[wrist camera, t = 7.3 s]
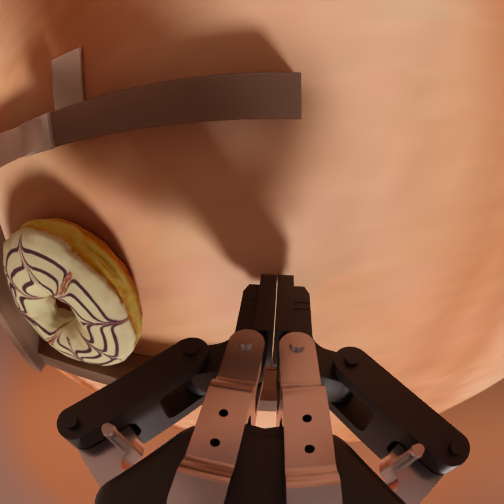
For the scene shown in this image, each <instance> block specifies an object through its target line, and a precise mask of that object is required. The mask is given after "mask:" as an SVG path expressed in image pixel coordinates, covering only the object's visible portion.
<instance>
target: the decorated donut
mask: <svg viewBox="0 0 504 504" xmlns="http://www.w3.org/2000/svg"><path fill="white" fill-rule="evenodd" d="M3 257H4V258H3V266H4V271H5V275H6V278H7V281H8V284H9V287H10V291H11V293H12V296H13V298H14V301H15V303H16V305H17V307H18V308H19V310H20V312H21V313H22V315H23V316H24V317H25V318H26V319H27V321H28V322H29V323H30V324H31V325H32V326H33V328H34V329H35V330H36V331H37V333H38V334H39V335H40V336H41V337H42V338H43V339H44V340H45V341H47V342H48V343H49V344H50V345H51V346H52V347H54V348H55V349H56V350H58V351H59V352H61V353H62V354H64V355H65V356H67V357H69V358H72V359H76V360H79V361H83V362H86V363H93V364H97V365H102V366H107V365H113V364H117V363H120V362H122V361H124V360H126V358H127V357H128V356H129V355H130V354H131V353H132V351H133V350H134V348H135V346H136V344H137V343H138V340H139V338H140V337H141V332H142V331H141V330H142V309H141V308H142V307H141V304H140V298H139V296H138V293H137V290H136V286H135V284H134V282H133V280H132V278H131V276H130V273H129V271H128V269H127V268H126V266H125V264H124V263H123V262H122V261H121V260H120V259H119V258H118V257H117V256H116V255H115V254H114V253H113V252H112V251H111V249H110V248H109V246H108V245H107V244H106V243H105V242H104V241H102V240H101V239H100V238H98V237H97V236H96V235H95V234H93V233H92V232H91V231H87V230H85V229H84V228H82V227H81V226H79V225H78V224H75V223H72V222H70V221H67V220H64V219H59V218H48V219H35V220H31V221H28V222H26V223H24V224H22V226H21V227H20V228H19V229H18V230H17V231H16V232H14V233H13V234H12V235H11V236H10V238H9V239H7V240H6V241H5V242H4V244H3Z"/></svg>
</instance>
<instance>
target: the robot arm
mask: <svg viewBox="0 0 504 504" xmlns="http://www.w3.org/2000/svg"><path fill="white" fill-rule="evenodd" d="M276 281H277V275H271V274H261V280H260V285H256V284H249V285H248V286H247V288H246V289H245V290H244V291H243V296H242V301H241V307H240V311H239V316H238V321H237V326H236V330H235V333H234V334H232V335H231V337H230V339H229V340H227V341H225V342H223V343H219V344H214V345H207V344H206V343H205V342H204V341H203V340H201V339H199V338H186V339H183V340H181V341H179V342H178V343H176V344H175V345H173V346H171V347H170V348H168V349H167V350H165V351H163V352H162V353H160V354H159V355H157V356H155V357H154V358H152V359H150V360H149V361H147V362H145V363H144V364H142V365H141V366H139V367H137V368H136V369H134V370H132V371H131V372H129V373H127V374H126V375H124V376H122V377H121V378H119V379H117V380H115V381H114V382H112V383H110V384H109V385H107V386H105V387H103V388H102V389H100V390H98V391H97V392H95V393H93V394H91V395H90V396H88V397H86V398H84V399H83V400H81V401H79V402H77V403H76V404H74V405H72V406H70V407H68V408H67V409H65V410H63V411H62V412H61V414H60V415H59V417H58V420H57V428H58V431H59V433H60V434H61V435H62V436H63V437H64V438H65V439H66V440H68V441H69V442H70V443H71V444H72V445H73V446H74V447H75V448H77V449H78V451H79V452H80V454H81V456H82V458H83V460H84V461H85V463H86V465H87V466H88V468H89V470H90V472H91V473H92V474H93V476H94V478H95V479H96V481H97V483H98V484H99V486H100V487H101V488H100V490H99V491H98V493H97V495H96V499H95V504H419V503H420V502H421V501H422V500H423V499H424V498H425V497H426V495H427V494H428V493H429V492H430V491H431V490H432V488H433V487H434V486H435V485H436V484H437V482H438V481H439V480H440V479H441V477H442V476H443V475H444V474H446V473H448V472H450V471H451V470H453V469H454V468H456V467H458V466H459V465H461V464H462V463H464V462H465V460H466V459H467V458H468V455H469V452H470V445H469V442H468V439H467V438H466V437H465V436H464V435H463V434H462V433H461V432H459V431H458V430H457V429H456V428H455V427H453V426H452V425H451V424H450V423H449V422H447V421H446V420H445V419H444V418H443V417H441V416H440V415H439V414H438V413H437V412H435V411H434V410H433V409H432V408H431V407H429V406H428V405H427V404H426V403H425V402H423V401H422V400H421V399H420V398H419V397H417V396H416V395H415V394H414V393H413V392H411V391H410V390H409V389H408V388H407V387H405V386H404V385H403V384H402V383H401V382H399V381H398V380H397V379H396V378H395V377H393V376H392V375H391V374H390V373H389V372H388V371H386V370H385V369H384V368H383V367H382V366H380V365H379V364H378V363H377V362H376V361H374V360H373V359H372V358H371V357H370V356H368V355H367V354H366V353H365V352H364V351H362V350H361V349H359V348H356V347H344V348H342V349H340V350H339V351H337V352H334V351H330V350H327V349H324V348H322V347H320V346H319V345H318V344H317V343H316V342H315V341H314V339H313V337H312V325H311V311H310V297H309V293H308V291H307V290H306V289H305V287H299V286H294V276H293V275H278V287H277V304H276V319H275V335H274V351H273V365H272V367H277V375H276V427H273V428H266V429H264V428H260V427H257V426H255V423H256V416H257V411H258V406H259V402H260V397H261V392H262V387H263V381H264V378H265V372H266V366H267V367H271V358H272V345H273V332H274V318H275V302H276ZM202 404H203V405H202ZM200 405H202V408H201V411H200V414H199V417H198V420H197V423H196V425H195V426H192V427H190V428H187V429H185V430H184V431H182V432H180V433H179V434H177V435H176V436H175V437H173V438H172V439H171V440H169V441H168V442H166V443H165V444H164V445H162V446H161V447H160V448H158V449H157V450H155V451H154V452H152V453H151V454H149V455H148V456H147V457H145V458H144V459H142V460H141V461H139V462H138V463H136V462H137V461H138V460H139V459H141V457H142V456H143V453H144V443H146V442H147V441H149V440H151V439H152V438H154V437H155V436H157V435H158V434H160V433H161V432H163V431H164V430H166V429H167V428H169V427H170V426H172V425H173V424H175V423H176V422H178V421H179V420H181V419H182V418H183V417H185V416H186V415H188V414H189V413H191V412H192V411H193V410H195V409H196V408H198V407H199V406H200ZM329 409H330V410H331V411H332V412H333V413H334V414H335V415H336V416H337V417H338V418H339V419H340V420H341V421H342V422H343V423H344V424H345V425H346V426H347V427H348V428H349V429H350V430H351V431H352V432H353V433H354V434H355V435H356V436H357V437H358V438H359V439H360V440H361V441H362V442H363V443H364V444H365V445H366V446H367V447H368V448H370V450H372V451H373V452H374V453H375V454H376V455H377V456H378V457H379V458H380V459H381V462H380V465H379V471H380V474H381V476H382V477H383V479H384V480H385V482H386V484H385V482H384V481H383V480H382V479H381V478H379V476H378V475H377V474H376V473H375V472H374V471H373V470H372V469H371V468H370V467H369V466H368V465H367V464H366V463H365V462H364V461H363V460H362V459H361V458H360V457H359V456H358V455H357V454H356V453H355V451H354V450H353V449H352V448H351V447H350V446H349V445H348V444H347V443H346V442H345V441H343V440H342V439H340V438H339V437H337V436H335V435H333V434H332V427H331V420H330V412H329ZM135 463H136V464H135ZM134 464H135V465H134Z"/></svg>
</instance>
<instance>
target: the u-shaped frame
mask: <svg viewBox="0 0 504 504" xmlns="http://www.w3.org/2000/svg"><path fill="white" fill-rule="evenodd" d="M51 72H52V89H53V101H54V111H53V112H51V113H50V112H48V113H45V114H43V115H40V116H38V117H35V118H33V119H31V120H28V121H26V122H24V123H22V124H20V126H17V127H15V128H13V129H10V130H7V131H5V132H2V133H0V167H2V166H4V165H6V164H8V163H10V162H12V161H14V160H16V159H18V158H20V157H23V156H25V157H27V156H30V155H33V154H36V153H40V152H43V151H46V150H50V149H53V148H55V147H57V146H60V145H64V144H68V143H72V142H76V141H80V140H85V139H89V138H94V137H98V136H103V135H108V134H113V133H119V132H124V131H130V130H136V129H142V128H149V127H156V126H164V125H172V124H182V123H192V122H204V121H218V120H238V119H301V73H299V72H255V73H234V74H221V75H210V76H201V77H192V78H185V79H178V80H172V81H166V82H160V83H154V84H149V85H144V86H139V87H135V88H130V89H126V90H122V91H118V92H114V93H110V94H106V95H103V96H99V97H96V98H92V99H89V100H86V101H85V99H84V88H83V72H82V47H79V48H76V49H74V50H72V51H69V52H67V53H65V54H63V55H61V56H59V57H57V58H55V59H53V60H51ZM4 242H5V238H4V235H3V233H2V230H1V227H0V324H1V325H2V327H3V328H4V330H5V332H6V333H7V335H8V336H9V338H10V339H11V340H12V342H13V344H14V345H15V346H16V348H17V349H18V351H19V352H20V353H21V355H22V356H23V358H24V359H25V360H26V362H27V363H28V364H29V365H30V367H31V368H33V369H35V370H38V371H40V372H41V371H42V369H43V368H44V366H45V364H47V365H50V366H52V367H55V368H58V369H60V370H63V371H66V372H69V373H72V374H74V375H77V376H80V377H84V378H87V379H90V380H93V381H96V382H100V383H103V384H107V385H109V384H110V383H112V382H114V381H115V380H117V379H119V378H121V377H122V376H124V375H126V374H127V373H129V372H131V371H132V370H134V369H136V368H137V367H139V366H141V365H142V364H144V363H145V362H147V361H149V360H150V359H152V358H154V357H149V356H143V355H138V354H132V353H131V354H130V355H129V356H128V357H127V358H126V360H124V361H122V362H120V363H117V364H113V365H107V366H102V365H97V364H93V363H86V362H83V361H79V360H76V359H72V358H69V357H67V356H65V355H64V354H62V353H61V352H59V351H58V350H56V349H55V348H54V347H52V346H51V345H50V344H49V343H48V342H47V341H45V340H44V339H43V338H42V337H41V336H40V335H39V334H38V333H37V331H36V330H35V329H34V328H33V326H32V325H31V324H30V323H29V322H28V321H27V319H26V318H25V317H24V316H23V315H22V313H21V312H20V310H19V308H18V307H17V305H16V303H15V301H14V298H13V296H12V293H11V291H10V287H9V284H8V281H7V278H6V275H5V271H4V266H3V258H4V257H3V244H4ZM276 375H277V370H266V372H265V378H264V381H263V387H262V392H261V397H260V402H259V406H258V410H259V411H276ZM202 405H203V404H202Z"/></svg>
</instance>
